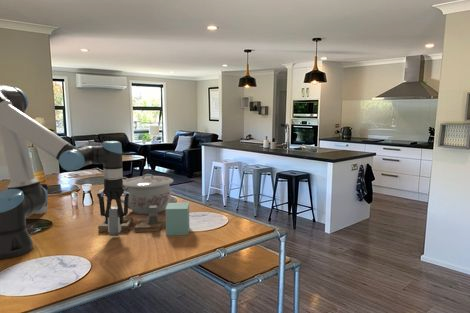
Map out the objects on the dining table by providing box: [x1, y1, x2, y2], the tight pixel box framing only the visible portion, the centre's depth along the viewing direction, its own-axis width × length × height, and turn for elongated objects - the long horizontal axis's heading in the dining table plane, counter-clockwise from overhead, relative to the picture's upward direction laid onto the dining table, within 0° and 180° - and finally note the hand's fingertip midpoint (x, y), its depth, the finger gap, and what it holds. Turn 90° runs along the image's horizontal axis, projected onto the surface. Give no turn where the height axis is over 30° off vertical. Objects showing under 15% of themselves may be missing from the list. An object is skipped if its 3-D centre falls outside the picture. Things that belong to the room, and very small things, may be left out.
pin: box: [109, 206, 121, 237], centre depth 144 cm, size 3×3×12 cm
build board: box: [97, 217, 134, 233], centre depth 157 cm, size 11×13×3 cm
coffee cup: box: [34, 183, 49, 215], centre depth 179 cm, size 8×8×15 cm
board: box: [134, 206, 164, 233], centre depth 157 cm, size 11×11×10 cm
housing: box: [164, 202, 190, 236], centre depth 152 cm, size 10×10×12 cm
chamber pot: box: [121, 173, 174, 216], centre depth 182 cm, size 28×28×21 cm
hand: (114, 231), depth 145 cm, fingers closed on pin, 3 cm apart
